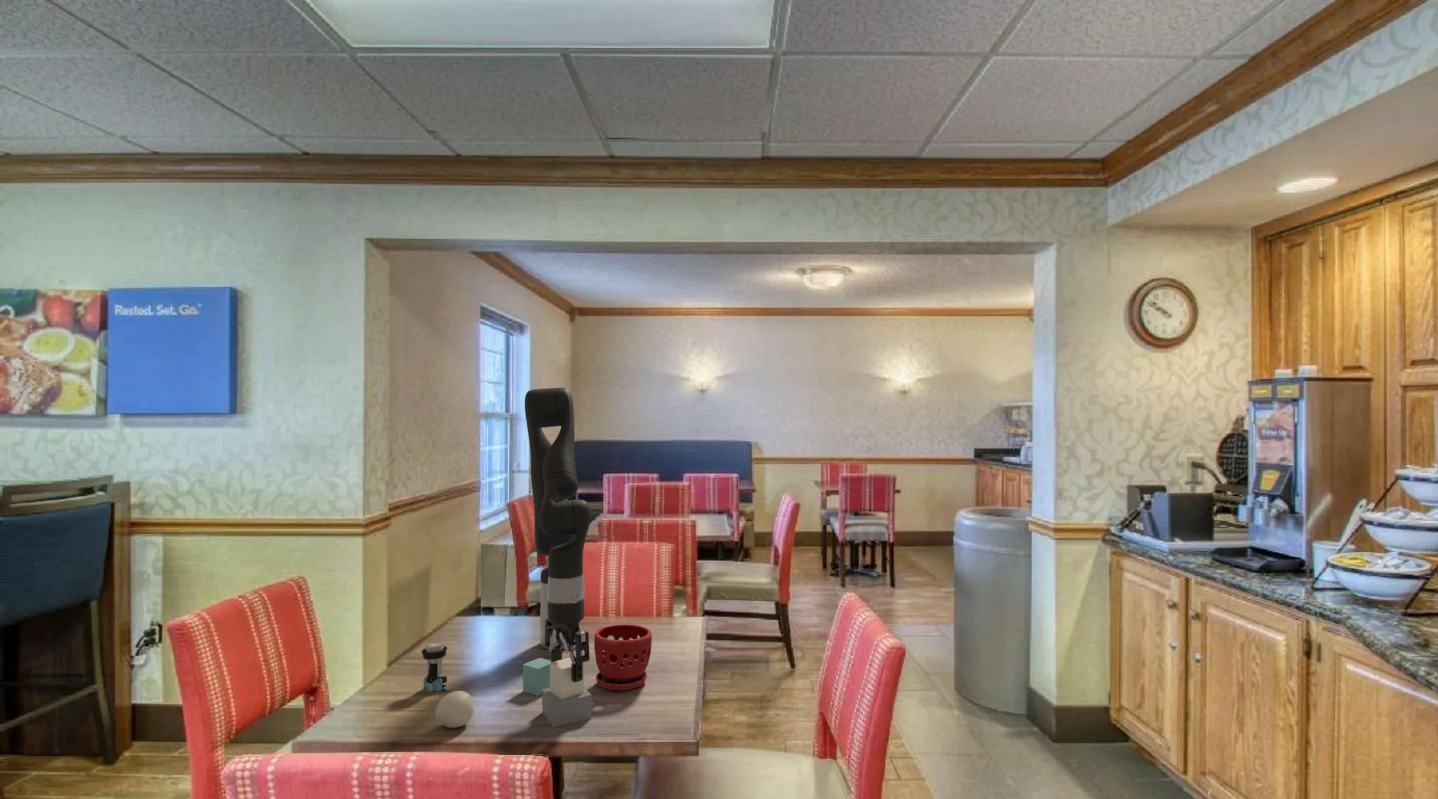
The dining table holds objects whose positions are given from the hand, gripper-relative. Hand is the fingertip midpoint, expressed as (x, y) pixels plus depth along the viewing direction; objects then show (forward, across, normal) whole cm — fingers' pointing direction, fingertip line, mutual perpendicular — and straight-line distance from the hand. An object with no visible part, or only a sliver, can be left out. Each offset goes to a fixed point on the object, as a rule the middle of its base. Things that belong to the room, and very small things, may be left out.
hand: (566, 675), depth 144 cm
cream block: (+3, 0, 0) cm, 3 cm away
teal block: (+8, -16, +2) cm, 18 cm away
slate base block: (+8, 0, 0) cm, 9 cm away
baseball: (+8, -11, -19) cm, 24 cm away
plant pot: (+8, -6, +18) cm, 21 cm away
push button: (+8, -32, -15) cm, 36 cm away
